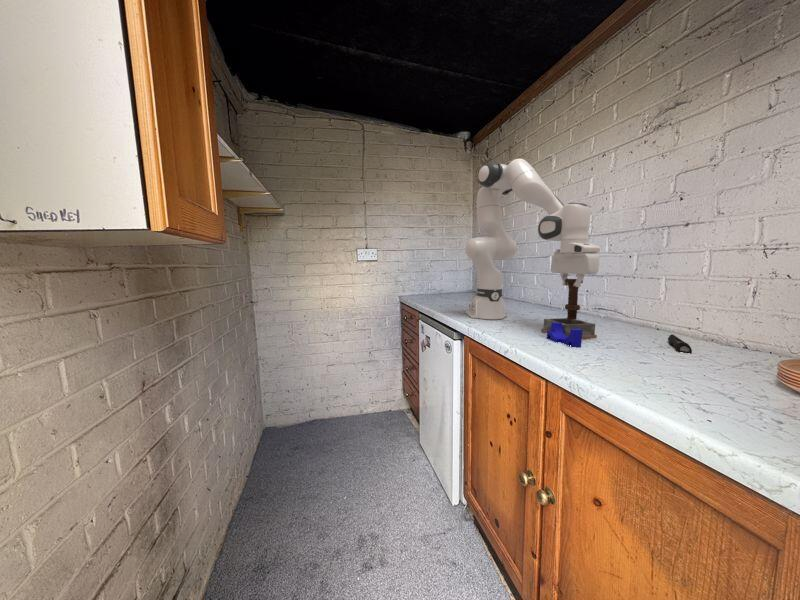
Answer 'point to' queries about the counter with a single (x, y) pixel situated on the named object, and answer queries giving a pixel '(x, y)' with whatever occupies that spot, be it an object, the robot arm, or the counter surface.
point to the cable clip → (559, 336)
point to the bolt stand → (572, 327)
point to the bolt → (572, 299)
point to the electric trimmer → (679, 344)
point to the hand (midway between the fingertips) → (571, 286)
